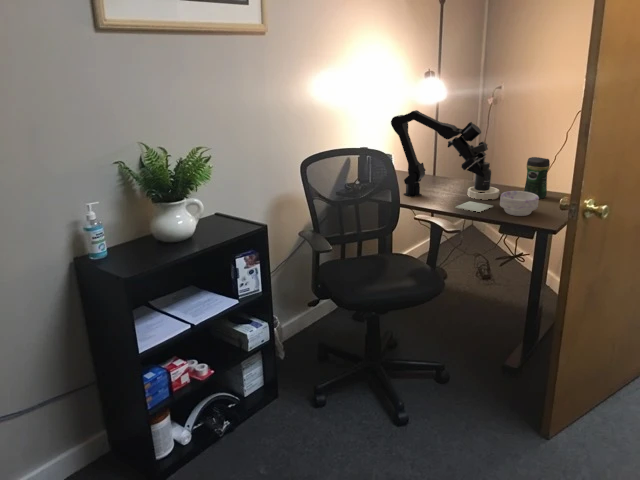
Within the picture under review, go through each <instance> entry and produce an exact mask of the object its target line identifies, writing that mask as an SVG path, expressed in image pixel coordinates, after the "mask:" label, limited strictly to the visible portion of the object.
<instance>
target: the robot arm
mask: <svg viewBox="0 0 640 480" xmlns="http://www.w3.org/2000/svg"><path fill="white" fill-rule="evenodd" d="M412 121H415V122H418V123H419V124H422V125H424V126H426V127H428V128H430V130H434V131H435V132H436V133H437V134H438V135H439V136H440V137H442V138H443V139H445V140H449V141H447V148H451V147H453V148H454V149H455V150H456V151H457V153H459V154H458V156H459V157H462V159H463V160H464V162H463V163H462V164H461V168H462V170H463V171H467V172H468V171H469V172H470V173H472V174H477V175H479V176H481V177H484V176H485V175H484V173H483V172H482V170H481V169H480V167H479V162H486V161H485V160H486V155H487V154H486V153H485V152H486V151H488V150H489V148H488V143H486V142H485V141H479V143H478V145H476V146H474V145H472V144H471V145H470V144H469V143H468V142H473V141H474V140H475V139H476V138H477V137H478V136H479V135H481V134H482V129H480V127H479V126H477V125H476V124H475V123H473V122H472V121H470V122H469V123H467V125H465V126H464V128H459V127H458V126H456V125H454V124H452V123H445V122H442V121H439V120H437V119H435V118H433V117H431V116H429V115H426V114H424V113H422V112H420V111H419V110H418V109H417V110H412V111H411V112H410V111H409V112H408V113H406V114H400V115H399V114H398V115H396V116H393V117H392V118H391V121H390V125H391V127H392V129H393V131H394V133H396V134H397V136H398V138H399V140H400V143H401V146H402V150H403V152H404V153H403V154H404V156H405V159H406V161H407V172H408V173H407V174H408V175H407V176H406V177H405V178H404V179H403V182H404V184H405V193H403V195H404V196H407V197H411V198H413V197H418V196H422V193H421V192H420V190H421V185H420V182H421V181H422V179H423V178H424V177H425V175H426V171H427V170H426V168H425V164H424V162H420V161H418V158H417V155H416V152H415V148H414V146H413V142H412V140H411V136H410V134H409V122H412ZM459 135H460V136H459ZM451 139H452V140H451Z"/></svg>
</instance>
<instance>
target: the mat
mask: <svg viewBox="0 0 640 480" xmlns="http://www.w3.org/2000/svg"><path fill="white" fill-rule="evenodd" d="M489 208H490V209H493V208H494V205H493V204H492V205H491V204H486V203H481V202H475V201H466V202H464V203H461V204H459V205H456V206H454V209H459V210H463V209H464V211H468V210H470V211H469V212H473V211H476V212H475V213H477V212H480V213H482V212H481V211H483V212H484V210H485V211H487V210H489Z"/></svg>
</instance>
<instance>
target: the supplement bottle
mask: <svg viewBox="0 0 640 480" xmlns="http://www.w3.org/2000/svg"><path fill="white" fill-rule="evenodd" d="M490 166H491V165H490V162H487V161H485V162H479V167H480V169H481V170H482V172H483V173H484V175H485V176H484V177H481V176H479V175H477V174H475V173H474V174H475V175H474V185H473V187H474V188H475V189H476V190H479V191H487V190H489V189H490V187H491V181H492V170H491V169H490Z"/></svg>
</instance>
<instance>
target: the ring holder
mask: <svg viewBox="0 0 640 480" xmlns="http://www.w3.org/2000/svg"><path fill="white" fill-rule="evenodd" d="M478 192H485V193H478ZM466 194H467V195H468V197H469V198H470V197H471V199H474V198H475V199H474V200H480V199H482V200H483V201H486V200H488V199H492V200H496V199H498V198H499V197H500V189H498V188H497V187H493V186H490V189H489V190H487V191H479V190H476V189H475V188H474V186H470V187H469V188H467V193H466ZM467 195H466V196H467Z"/></svg>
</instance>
